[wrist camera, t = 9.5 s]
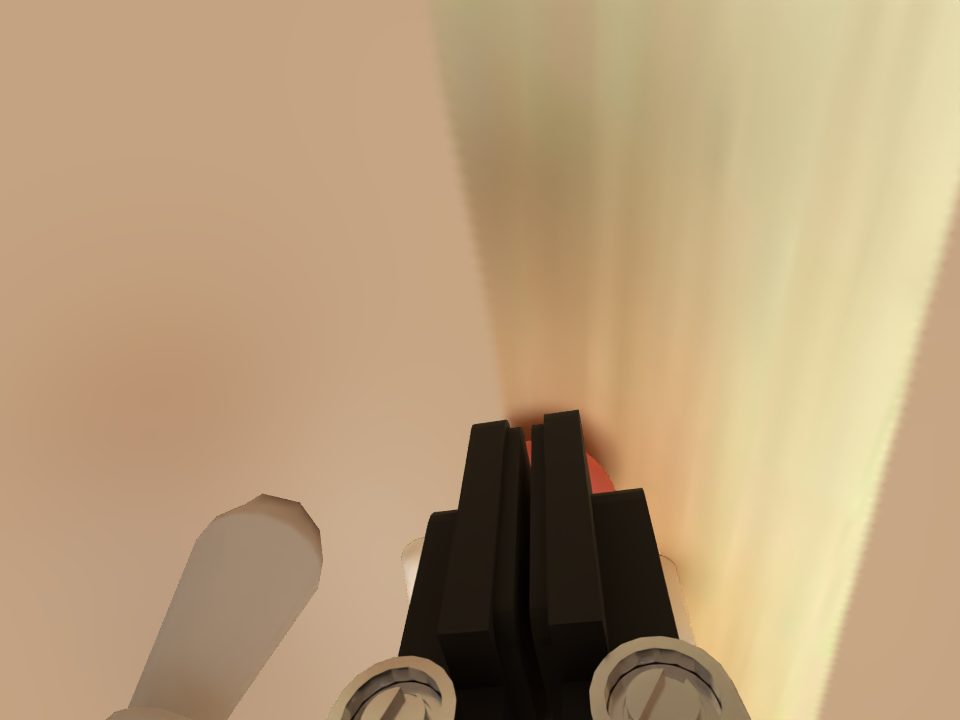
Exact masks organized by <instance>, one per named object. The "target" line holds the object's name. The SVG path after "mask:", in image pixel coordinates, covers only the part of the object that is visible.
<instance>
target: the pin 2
mask: <svg viewBox="0 0 960 720" xmlns="http://www.w3.org/2000/svg"><path fill="white" fill-rule="evenodd" d="M659 556H660V555H659ZM660 561H661V565H662V569H663V573H664V577H665V581H666V585H667V590H668V594H669V598H670V602H671V606H672V610H673V615H674V619H675V623H676V627H677V631H678V635H679V639H680V640H684V641H686V642H688V643H690V644H692V645H695V646H696V642H695V639H694V635H693V631H692V627H691V623H690V620H689V616H688V612H687V608H686V604H685V601H684V597H683V593H682V589H681V586H680V582H679V578H678V574H677V570H676V567H675V565H674V564H673V562H672V561H671V560H669V559H668V558H666V557H664V556H660Z"/></svg>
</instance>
